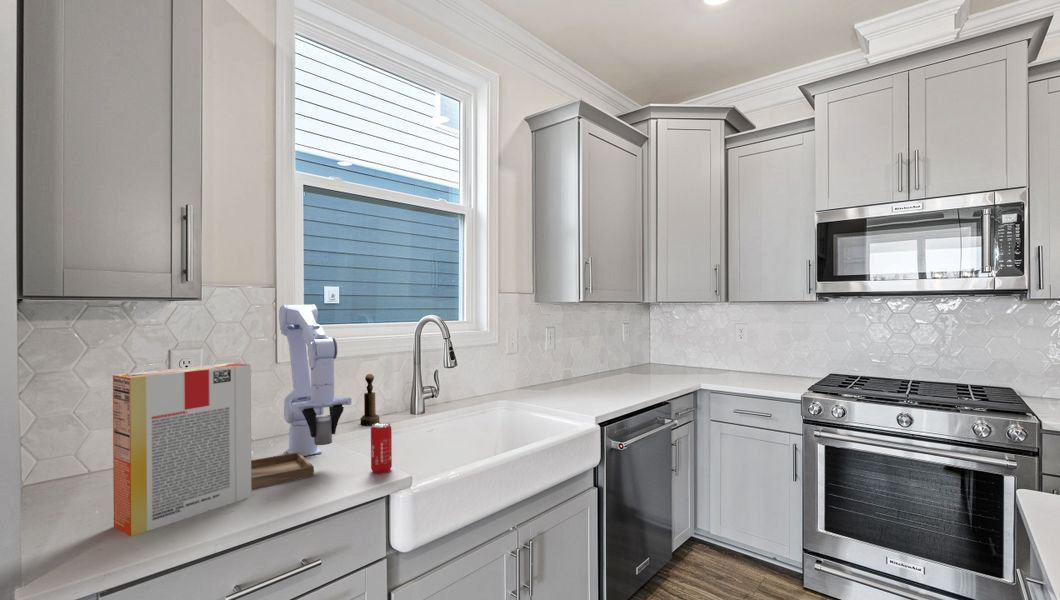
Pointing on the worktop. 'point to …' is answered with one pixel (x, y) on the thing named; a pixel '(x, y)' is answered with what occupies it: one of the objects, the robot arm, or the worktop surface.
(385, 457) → the beverage can
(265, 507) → the worktop surface
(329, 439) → the cylinder
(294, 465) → the walnut tray
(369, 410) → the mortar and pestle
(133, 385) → the cereal box
